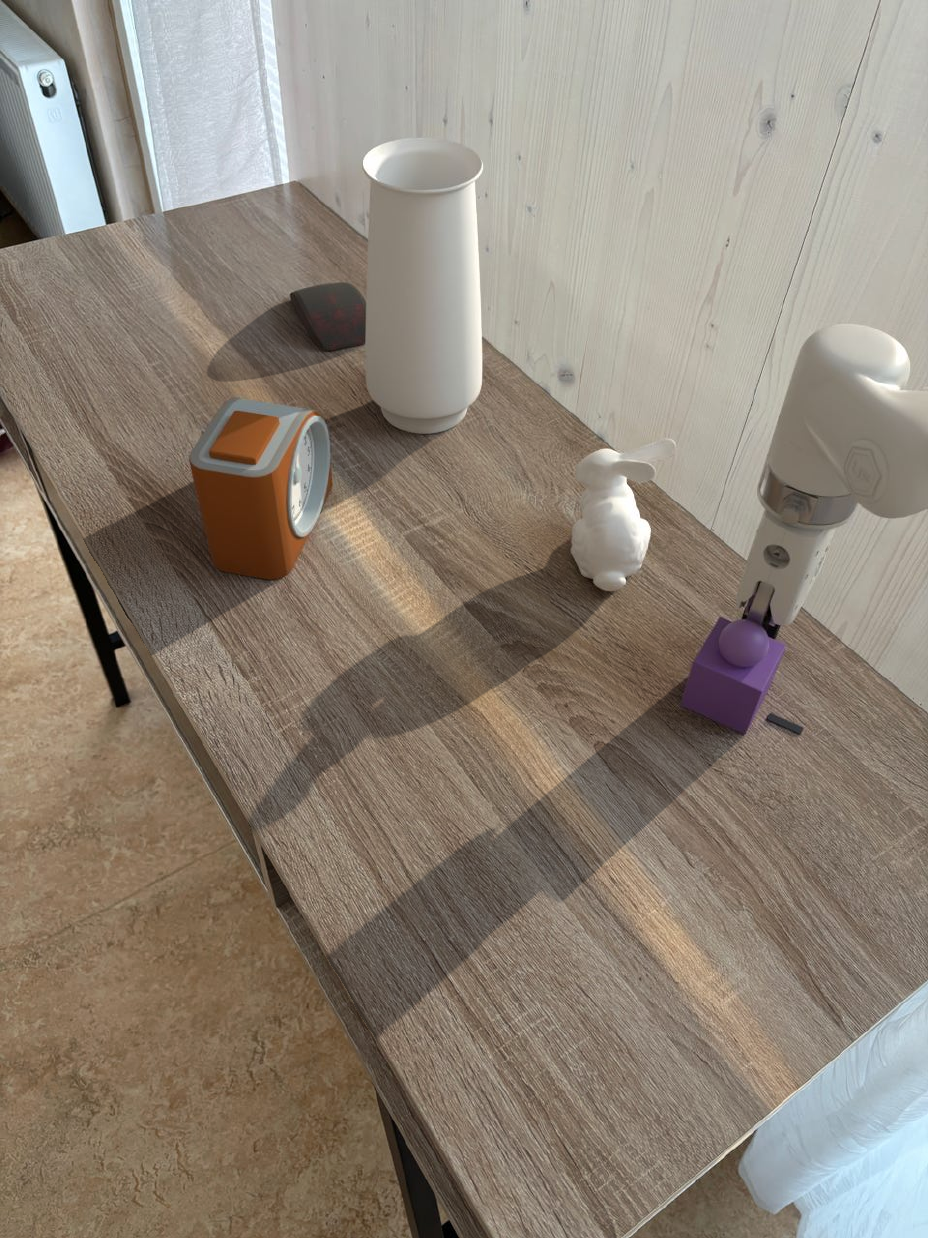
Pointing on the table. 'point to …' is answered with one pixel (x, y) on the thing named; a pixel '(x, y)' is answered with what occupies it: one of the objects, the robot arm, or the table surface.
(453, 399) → the vase
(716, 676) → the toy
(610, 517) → the rabbit
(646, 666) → the table surface
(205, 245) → the table surface
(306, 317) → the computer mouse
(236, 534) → the alarm clock
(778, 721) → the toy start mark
